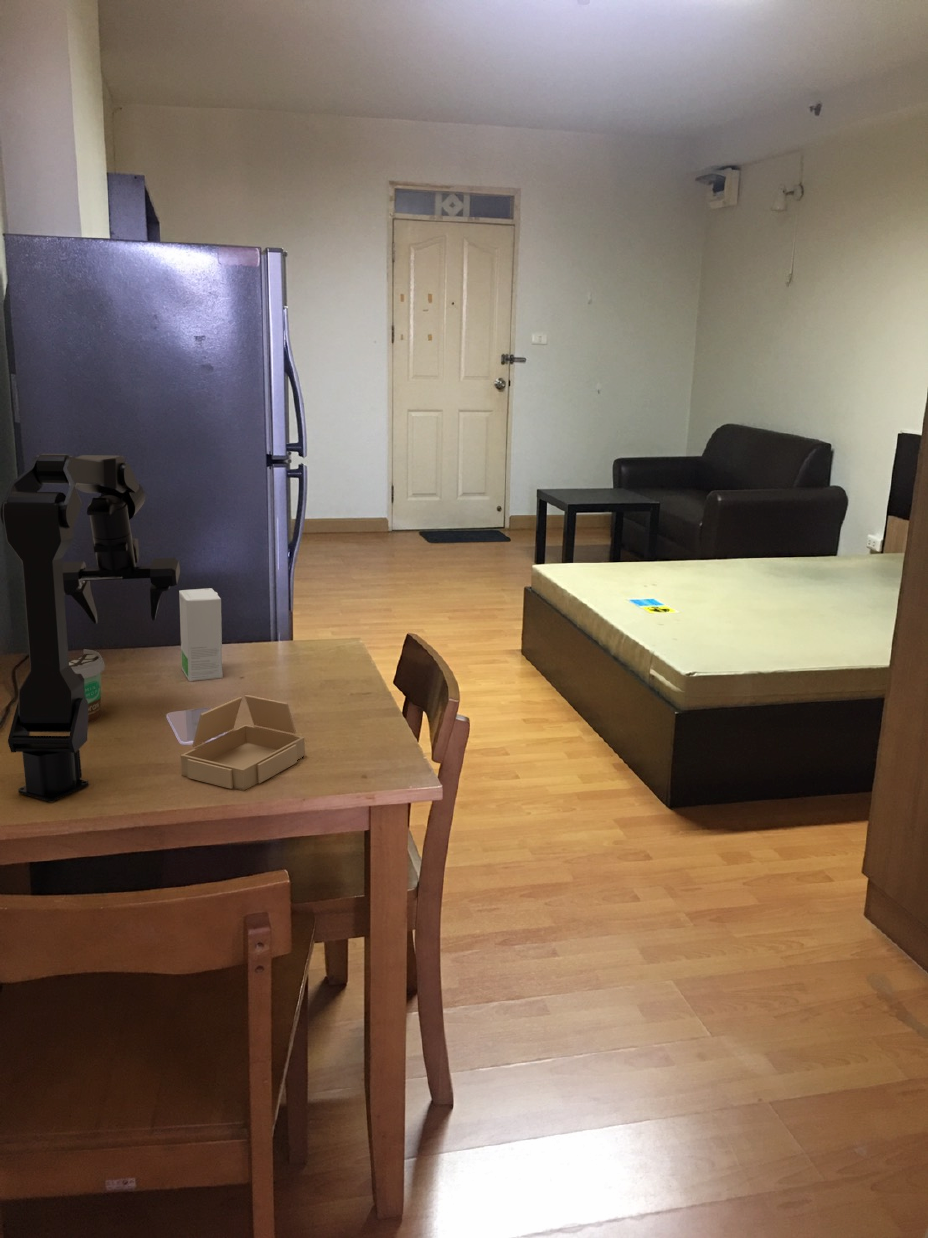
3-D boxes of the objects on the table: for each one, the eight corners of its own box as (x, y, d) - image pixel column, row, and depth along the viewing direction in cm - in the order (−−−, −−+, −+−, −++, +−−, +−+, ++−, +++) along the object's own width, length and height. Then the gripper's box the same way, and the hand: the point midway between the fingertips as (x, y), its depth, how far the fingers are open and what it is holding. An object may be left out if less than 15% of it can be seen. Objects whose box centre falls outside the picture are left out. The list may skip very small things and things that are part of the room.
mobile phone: (211, 705, 163) (230, 734, 150) (211, 711, 163) (231, 740, 150) (164, 711, 160) (180, 741, 147) (164, 716, 160) (180, 748, 147)
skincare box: (181, 669, 184) (177, 589, 180) (216, 666, 187) (212, 587, 183) (189, 682, 177) (184, 599, 173) (225, 678, 180) (221, 596, 176)
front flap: (295, 733, 144) (286, 704, 141) (254, 724, 147) (244, 695, 144) (296, 732, 144) (287, 703, 141) (255, 723, 147) (245, 694, 144)
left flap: (193, 747, 138) (202, 715, 136) (192, 746, 138) (200, 713, 136) (233, 728, 145) (242, 697, 143) (231, 727, 145) (240, 696, 143)
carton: (244, 793, 131) (243, 772, 130) (178, 776, 136) (177, 756, 135) (307, 757, 143) (307, 738, 143) (245, 743, 148) (245, 724, 148)
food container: (81, 733, 151) (75, 672, 149) (45, 730, 152) (39, 669, 150) (123, 708, 163) (119, 650, 160) (90, 705, 164) (85, 648, 162)
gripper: (178, 513, 161) (188, 598, 168) (60, 517, 159) (75, 603, 166) (170, 538, 152) (181, 627, 158) (45, 542, 149) (61, 632, 156)
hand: (125, 621), depth 160 cm, fingers open, 9 cm apart
